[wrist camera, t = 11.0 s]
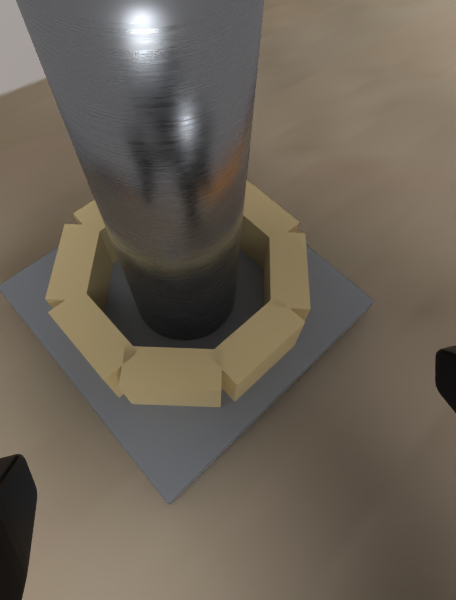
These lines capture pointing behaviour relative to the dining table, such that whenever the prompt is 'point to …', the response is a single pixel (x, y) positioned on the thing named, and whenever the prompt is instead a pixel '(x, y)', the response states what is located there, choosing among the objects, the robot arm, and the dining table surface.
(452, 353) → the robot arm
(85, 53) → the shiny metal cylinder
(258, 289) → the nut plate
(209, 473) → the dining table surface
